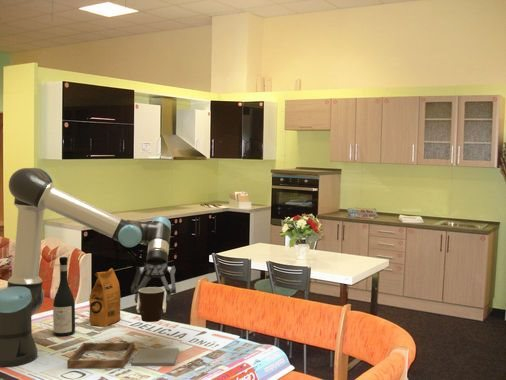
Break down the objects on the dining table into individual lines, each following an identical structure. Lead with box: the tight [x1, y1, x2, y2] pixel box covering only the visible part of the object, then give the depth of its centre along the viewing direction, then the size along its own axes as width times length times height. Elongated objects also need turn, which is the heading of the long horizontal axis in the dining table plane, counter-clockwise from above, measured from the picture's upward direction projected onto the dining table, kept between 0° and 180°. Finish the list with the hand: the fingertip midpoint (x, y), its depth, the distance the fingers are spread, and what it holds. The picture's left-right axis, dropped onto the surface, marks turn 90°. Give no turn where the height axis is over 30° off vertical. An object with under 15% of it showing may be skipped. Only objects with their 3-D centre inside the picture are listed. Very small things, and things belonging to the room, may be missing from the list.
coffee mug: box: [138, 286, 166, 323], centre depth 183 cm, size 12×9×10 cm
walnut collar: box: [66, 342, 136, 369], centre depth 183 cm, size 18×18×2 cm
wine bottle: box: [52, 256, 76, 337], centre depth 210 cm, size 8×8×30 cm
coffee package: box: [88, 267, 121, 328], centre depth 225 cm, size 10×12×22 cm
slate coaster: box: [130, 347, 180, 367], centre depth 183 cm, size 14×14×1 cm
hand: (151, 310), depth 180 cm, fingers closed on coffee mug, 8 cm apart
